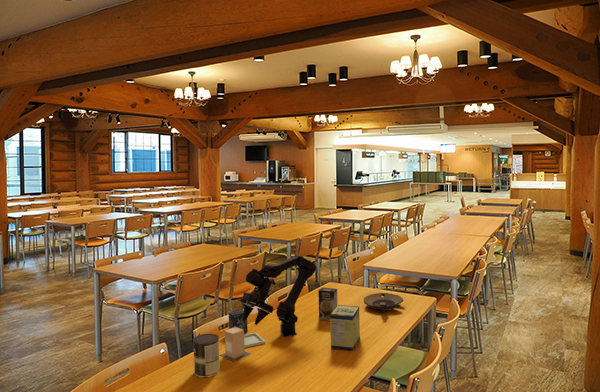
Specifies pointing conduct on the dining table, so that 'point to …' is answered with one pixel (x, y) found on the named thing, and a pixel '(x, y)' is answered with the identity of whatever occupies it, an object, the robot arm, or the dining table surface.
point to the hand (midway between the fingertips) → (249, 322)
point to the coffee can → (206, 355)
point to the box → (237, 320)
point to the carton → (234, 342)
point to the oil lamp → (383, 301)
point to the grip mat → (235, 358)
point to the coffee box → (327, 302)
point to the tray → (253, 340)
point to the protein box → (345, 327)
